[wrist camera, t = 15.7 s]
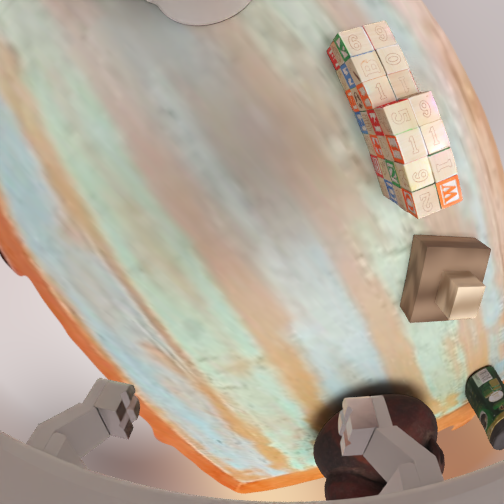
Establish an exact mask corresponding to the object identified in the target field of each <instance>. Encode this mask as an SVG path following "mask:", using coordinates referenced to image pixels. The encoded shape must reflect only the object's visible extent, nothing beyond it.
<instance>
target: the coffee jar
mask: <svg viewBox="0 0 504 504" xmlns="http://www.w3.org/2000/svg"><path fill="white" fill-rule="evenodd" d="M466 397H467V399H468V401H469V403H470V405H471V406H472V408H473V409H474V411H475V413H476V415H477V416H478V418H479V420H480V421H481V424H482V425H483V427H484V429H485V432H486V434H487V436H488V439H489V441H490V443H491V445H492V446H493V448H494V449H496V450H502V449H504V384H503V382H502V381H501V379H500V377H499V376H498V374H497V372H496V371H495V369H494V368H493V367H491V366H488V367H484V368H482V369H480V370H478V371H477V372H476V373H474V374H473V375H472V376H471V377H470V378H469V380H468V383H467V387H466Z"/></svg>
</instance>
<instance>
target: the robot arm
mask: <svg viewBox="0 0 504 504" xmlns="http://www.w3.org/2000/svg"><path fill="white" fill-rule="evenodd" d="M146 1H148V2H151V3H154V4H156V5H157V6H158V7H159V8H160V10H161V11H162V12H163V13H164V14H165V15H166V16H167V17H169V18H170V19H172V20H174V21H176V22H179V23H182V24H186V25H208V24H213V23H217V22H220V21H223V20H226V19H228V18H230V17H232V16H234V15H235V14H237V13H238V12H240V11H241V10H242V9H244V8H245V7H246V6H247V5H248V4H249V2H250V1H251V0H146ZM134 393H135V388H134V386H133V385H131V384H126V383H121V382H117V381H112V380H107V379H102V378H99V379H98V380H97V381H96V382H95V384H94V385H93V387H92V389H91V390H90V392H89V394H88V395H87V397H86V398H85V400H84V402H83V403H82V404H81V403H78V404H77V405H75V406H73V407H71V408H69V409H67V410H65V411H64V412H61V413H60V414H58V415H56V416H54V417H52V418H50V419H48V420H46V421H44V422H42V423H40V424H38V426H37V427H36V429H35V431H34V432H33V434H32V435H31V437H30V438H29V440H28V441H27V443H26V444H25V443H23V442H21V441H19V440H17V439H15V438H13V437H11V436H9V435H8V434H6V433H4V432H2V431H0V504H504V460H503V461H500V462H498V463H495V464H493V465H491V466H488V467H485V468H482V469H480V470H477V471H474V472H471V473H468V474H465V475H462V476H458V477H455V478H452V479H448V480H445V481H444V480H443V477H442V473H441V470H440V467H439V464H438V461H437V458H436V456H435V455H433V454H432V453H431V452H429V451H428V450H427V449H426V448H424V447H423V446H422V445H420V444H419V443H418V442H417V441H415V440H414V439H413V438H411V437H410V436H409V435H408V434H406V433H405V432H404V431H403V430H401V429H400V428H399V427H398V426H393V425H392V421H391V418H390V415H389V412H388V409H387V405H386V402H385V399H384V397H383V396H382V395H378V396H364V397H350V398H344V400H343V403H342V407H343V410H342V411H340V414H339V418H338V431H339V434H340V435H341V436H342V439H341V442H340V445H341V452H342V456H352V455H363V456H364V457H365V458H366V460H367V461H368V462H369V463H370V464H371V465H372V466H373V467H374V468H375V470H376V471H377V472H378V473H379V474H380V475H381V476H382V477H383V478H384V479H385V481H386V482H387V484H386V486H385V487H384V488H383V490H382V491H381V492H380V494H379V495H375V496H368V497H360V498H351V499H341V500H329V501H311V502H261V501H260V502H259V501H243V500H231V499H221V498H212V497H204V496H197V495H190V494H184V493H178V492H173V491H168V490H163V489H158V488H153V487H149V486H144V485H140V484H136V483H132V482H129V481H125V480H121V479H118V478H114V477H111V476H107V475H104V474H101V473H98V472H95V471H91V470H89V469H87V466H86V465H85V464H84V462H83V461H82V460H81V458H82V457H84V456H85V455H86V454H88V453H89V452H90V451H92V450H93V449H94V448H96V447H97V446H98V445H99V444H101V443H102V442H103V441H105V440H106V439H107V438H109V437H110V435H111V436H115V437H120V438H124V439H129V437H130V434H131V432H132V430H133V425H132V422H134V421H135V420H137V418H138V416H139V411H140V403H139V400H138V398H137V397H136V396H135V395H134Z"/></svg>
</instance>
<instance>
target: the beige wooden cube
mask: <svg viewBox="0 0 504 504" xmlns="http://www.w3.org/2000/svg"><path fill="white" fill-rule="evenodd" d="M485 287H486V286H485V285H484V284H483V283H482V282H481V281H479V280H478V279H477V278H476V277H475V276H474V275H473V274H472V273H471V272H470V271H443V272H442V276H441V281H440V285H439V289H438V292H437V296H436V300H435V303H436V304H437V305H438V306H439V308H440V309H441V310H442V312H443V313H444V314H445V316H446V317H447V318H448V320H456V319H468V318H476V315H477V312H478V309H479V306H480V303H481V300H482V297H483V294H484V290H485Z"/></svg>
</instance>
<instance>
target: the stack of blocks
mask: <svg viewBox="0 0 504 504" xmlns="http://www.w3.org/2000/svg"><path fill="white" fill-rule="evenodd" d="M327 53H328V55H329V57H330V59H331V61H332V63H333V65H334V67H335V70H336V73H337V75H338V77H339V80H340V82H341V84H342V86H343V88H344V90H345V93H346V95H347V98H348V100H349V102H350V105H351V107H352V110H353V112H354V113H355V116H356V118H357V120H358V123H359V126H360V128H361V131H362V133H363V135H364V138H365V141H366V143H367V146H368V149H369V152H370V156H371V159H372V162H373V165H374V168H375V171H376V174H377V177H378V180H379V183H380V187H381V190H382V193H383V195H384V196H385V197H387V198H388V199H390V200H392V201H393V202H395V203H396V204H397V205H399V206H400V207H401V208H402V209H404V210H405V211H406V212H409V213H411V214H412V215H413V216H415V217H416V218H417V219H421V218H423V217H425V216H428V215H430V214H433V213H435V212H438V211H440V210H441V209H444V208H447V207H449V206H452V205H454V204H456V203H458V202H461V201H462V200H463V197H462V193H461V188H460V183H459V179H458V175H457V173H458V171H457V168H456V164H455V160H454V157H453V153H452V150H451V148H450V142H449V139H448V136H447V133H446V130H445V127H444V124H443V121H442V119H441V116H440V113H439V110H438V108H437V105H436V102H435V100H434V97H433V95H432V92H431V91H427V92H419V91H418V89H417V86H416V84H415V82H414V79H413V77H412V74H411V72H410V70H409V66H408V64H407V61H406V59H405V57H404V55H403V53H402V51H401V48H400V46H399V44H397V42H396V40H395V38H394V36H393V34H392V32H391V30H390V28H389V26H388V24H387V22H386V21H380V22H376V23H372V24H368V25H363V26H362V27H357V28H353V29H350V30H346V31H342V32H339V33H337V35H336V36H335V38H334V39H333V42H332V43H331V45H330V47H329V48H328V50H327Z"/></svg>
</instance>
